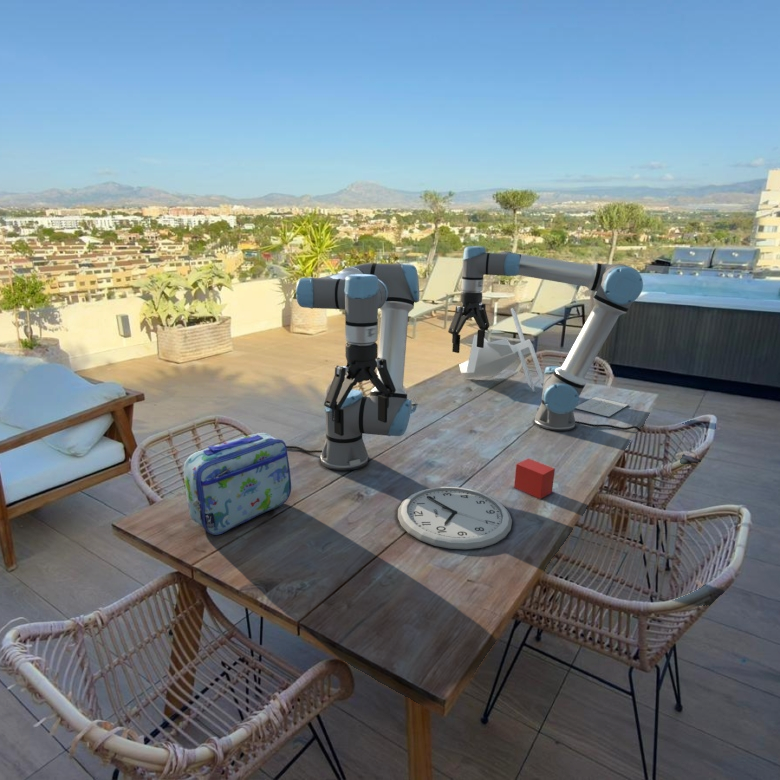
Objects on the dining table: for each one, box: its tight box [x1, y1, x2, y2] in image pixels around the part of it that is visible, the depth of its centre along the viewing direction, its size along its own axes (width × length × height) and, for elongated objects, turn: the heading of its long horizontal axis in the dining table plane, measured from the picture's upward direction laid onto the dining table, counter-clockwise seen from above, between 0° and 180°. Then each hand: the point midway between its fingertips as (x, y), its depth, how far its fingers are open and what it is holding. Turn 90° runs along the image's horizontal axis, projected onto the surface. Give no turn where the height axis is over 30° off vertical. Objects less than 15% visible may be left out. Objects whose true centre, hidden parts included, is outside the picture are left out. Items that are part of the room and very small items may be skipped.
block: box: [513, 458, 556, 500], centre depth 152 cm, size 9×6×8 cm, turn 41°
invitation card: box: [575, 396, 629, 418], centre depth 226 cm, size 21×1×15 cm
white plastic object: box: [458, 307, 544, 393], centre depth 256 cm, size 37×45×31 cm
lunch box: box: [183, 432, 292, 536], centre depth 133 cm, size 26×11×21 cm, turn 134°
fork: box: [410, 396, 419, 405], centre depth 222 cm, size 3×16×2 cm, turn 160°
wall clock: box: [397, 486, 513, 550], centre depth 138 cm, size 30×2×30 cm
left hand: (361, 427), depth 128 cm, fingers open, 13 cm apart
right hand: (468, 349), depth 192 cm, fingers open, 13 cm apart
